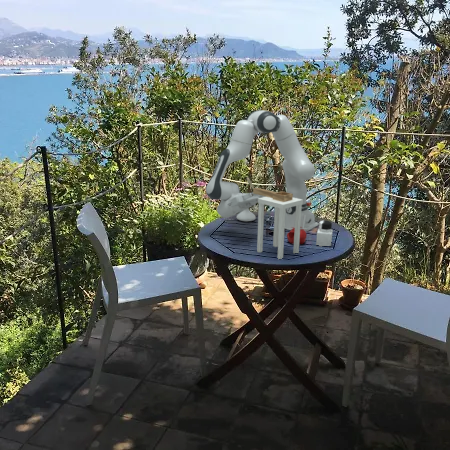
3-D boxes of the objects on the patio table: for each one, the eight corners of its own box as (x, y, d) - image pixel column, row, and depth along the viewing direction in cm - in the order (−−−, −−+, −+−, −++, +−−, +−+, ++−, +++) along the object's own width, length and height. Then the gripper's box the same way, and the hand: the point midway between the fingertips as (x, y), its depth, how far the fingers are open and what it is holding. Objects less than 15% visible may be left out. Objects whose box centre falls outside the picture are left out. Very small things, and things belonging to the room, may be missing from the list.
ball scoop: (259, 192, 220) (259, 186, 220) (292, 199, 206) (292, 193, 206) (250, 194, 216) (250, 188, 215) (283, 202, 202) (283, 195, 201)
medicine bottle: (331, 242, 229) (333, 220, 225) (330, 247, 222) (332, 224, 219) (317, 241, 231) (318, 219, 227) (316, 246, 224) (317, 222, 221)
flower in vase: (254, 223, 260) (256, 180, 252) (235, 222, 261) (235, 179, 254) (256, 217, 272) (258, 176, 265) (238, 216, 274) (238, 175, 266)
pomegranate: (304, 239, 234) (305, 222, 231) (307, 246, 224) (308, 228, 221) (285, 239, 234) (286, 222, 231) (287, 245, 224) (288, 227, 222)
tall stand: (275, 245, 225) (277, 194, 217) (299, 253, 214) (303, 199, 207) (256, 251, 216) (258, 198, 208) (280, 260, 205) (283, 204, 198)
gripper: (223, 199, 220) (241, 189, 210) (252, 193, 234) (270, 183, 224) (227, 211, 220) (245, 202, 210) (256, 204, 233) (274, 195, 223)
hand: (258, 192), depth 217 cm, fingers open, 8 cm apart
